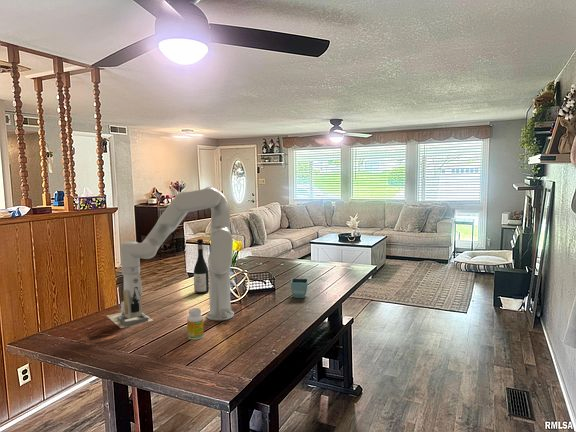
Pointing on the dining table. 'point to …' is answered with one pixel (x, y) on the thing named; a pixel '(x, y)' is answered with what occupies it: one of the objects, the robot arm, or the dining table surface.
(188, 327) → the supplement bottle
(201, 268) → the wine bottle
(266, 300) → the dining table surface
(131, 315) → the skincare box
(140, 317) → the board
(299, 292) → the flower pot
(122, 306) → the steel pin
